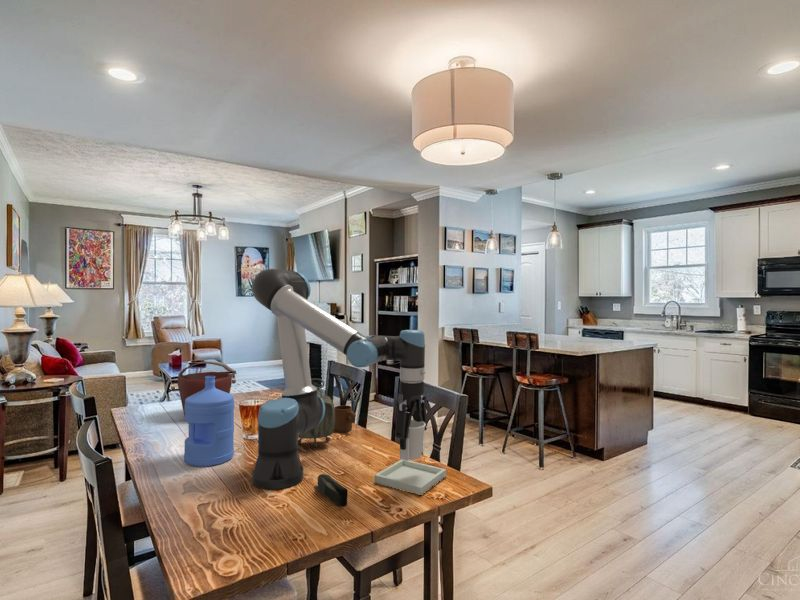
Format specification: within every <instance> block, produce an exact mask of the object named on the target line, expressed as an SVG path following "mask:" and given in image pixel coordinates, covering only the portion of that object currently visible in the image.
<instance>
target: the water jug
mask: <svg viewBox="0 0 800 600" xmlns="http://www.w3.org/2000/svg"><path fill="white" fill-rule="evenodd" d="M205 379H206V381H205V388H204V389H203V390H201V391H199V392H197V393H195V394H193V395H191V396H189V397H188V398H186V400H185V406H184V412H185V416H184V421H185V422H187V424H188V437H186V438H185V439H184V452H183V453H184V454H183V461H184V463H185V464H186V465H189V466H192V467H210V466H211V467H212V466H217V465H220V464H224V463H226V462H228V461H230V460H231V459H232V458H233V457H234V454H235V448H234V442H235V441H234V440H235V439H234V438H235V437H234V436H235V435H234V434H235V423H234V421H235V419H234V417H235V416H234V415H235V397H234V395H233V394H231V393H230V394H229V393H227V392H224V391H221V390H219V389H216V388H215V376H206V377H205ZM184 412H183V413H184Z"/></svg>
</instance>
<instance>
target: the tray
mask: <svg viewBox="0 0 800 600" xmlns="http://www.w3.org/2000/svg"><path fill="white" fill-rule="evenodd" d="M445 477H446V478H447V469H446V468H443V467H437V466H434V465H430V464H426V463H421V462H417V461H413V460H410V459H409V460H408V461H406V460H401V459H399V460H398V461H396V462H395V463H393V464H391V465H389V466H388V467H385V468H384V469H382V470H381V471H379V472H377V473H375V474H374V484H376V483H377V485H380V484H381V485H380V486H383V485H385V486H384V487H387V486H389V487H388V488H390V487H393V488H392V489H394V488H396V489H395V490H397V489H401V490H404V491H408V492H412V493H416V494H420V495H422V494H423V493H424V492H426V491H427V490H428V489H430V488H431V487H432V486H434V485H435V484H436V483H437V482H439V481H440V480H442V479H443V478H444V479H446V478H445ZM444 479H443V480H444ZM443 480H442V481H443ZM440 482H441V481H440ZM440 482H439V483H440ZM436 485H437V484H436ZM436 485H435V486H436ZM435 486H434V487H435ZM431 489H432V488H431ZM431 489H430V490H431ZM401 490H400V491H401ZM404 491H403V492H404ZM408 492H407V493H408ZM427 492H428V491H427ZM427 492H426V493H427ZM423 495H424V494H423ZM423 495H422V496H423Z"/></svg>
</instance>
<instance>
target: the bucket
mask: <svg viewBox="0 0 800 600" xmlns="http://www.w3.org/2000/svg"><path fill="white" fill-rule="evenodd" d="M201 364H206V365H207V364H208V365H215V366H219V367H222V368H223V369H224V370H226V371H228V372H224V371H223V372H222V371H221V372H219V371H204V372H196V373H194V372H193V373H192V372H191V373H186V374H185V375H184V373H185V372H186V371H187V370H188V369H190V368H192V367H194V366H197V365H201ZM231 372H232V373H231ZM235 375H236V372H235V370H234V369H233V368H232V367H229V366H228V365H227V364H225V363H221V362H216V361H200V362H196V363H193V364H190V365H188V366H186V367H185V368H182V370H180V372H179V373H178V376H177V388H178V392H179V396H180V401H181V407H182V411H183V415H184V417H185V412H184V406H185V400H186V398H188V397H189V396H191V395H193V394H195V393H197V392H199V391H201V390H203V389H204V388H205V381H206V379H205V377H206V376H215V388H216V389H219V390H221V391H224V392H227V393H229V394H231V387H232V383H233V382H232V381H233V380H232V379H233V378H234V376H235Z"/></svg>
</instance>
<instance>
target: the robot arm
mask: <svg viewBox="0 0 800 600" xmlns="http://www.w3.org/2000/svg"><path fill="white" fill-rule="evenodd" d="M251 291H252V295H253V297H254V299H255V300H256V301H257V302H258V303H259V304H260V305H262V307H263V306H264V307H265V308H266V309H268V310H269V311H271V313H272V314H273V315H274V316H275V317H276V319H277V328H278V337H279V344H280V345H279V347H280V353H281V362H282V370H283V379H284V386H285V389H284V390H283V391H282V393H281V397H279V398H276V399H275V398H274V399H270V400H268V401H267V400H266V402H263V403H262V404H261V405H260V408H259V409H258V417H257V424H258V428H257V429H258V432H257V433H258V435H257V436H258V439H257V441H258V442H257V443H258V445H257V447H258V448H257V449H258V450H257V458H256V461H255V465H254V469H252V472H251V483H252V485H253V486H254V487H256V488H259V489H265V490H279V489H280V490H282V489H286V488H290V487H294V486H296V485H298V484H299V483H300V482H302V481H303V479H304V468H303V465H302V462H301V461H302V460H301V458H300V455H299V444H298V440H299V437H298V436H300V435H302V434H304V433H305V432H307V431H310V430H312V429H314V428H315V427H316V426H317V425H318V424H320V423H321V421H322V420H323V418H324V415H325V404H324V401H323V399H322V398H320V396H319V395H318V394H317V390H318V389H317V388H318V387H317V386H316V387H314V386H315V385H313V384H312V381H311V379H312V376H311V368H310V360H309V353H308V345H307V344H308V343H307V336H306V331H308V332H310V333H311V334H313V335H314V336H315V337H317V338H319V339H320V340H322V341H323V342H325V343H327V344H328V345H330V346H331V347H333V348H334V349H336V350H337V351H338V352H341V354H343V355H345V356H346V357H347V359H348V362H349V363H350V364H351V365H352V366H353V367H354V368H367V367H371V366H372V365H374V364H377V363H379V362H382V361H396V362H397V361H398V362H399V368H400V369H399V380H400V382H399V393H400V394H401V395H402V397H403V399H402V402H401V403H400V402H397V404H396V408H397V409H396V410H397V412H396V413H397V414H396V423H395V424H396V425H395V434H394V435H395V436H394V437H395V438H398V439H399V460H406V461H408V460H409V461H410V459H409V438H407V437H408V432H409V427H410V422H411V420H412V418H413V420H415V421H417V422H421V421H423V422H424V423H425V424H426V426H425V430H424V432H425V431H427V429H428V428H427V427H428V415H427V396H426V395H424V394H425V389H426V388H425V387H426V386H425V382H424V380H425V374H426V371H425V362H426V361H425V357H426V356H425V355H426V354H425V353H426V344H425V343H426V341H425V339H426V338H425V333H424V331H422V330H421V329H405V330H404V329H403V330H401V331H400V332H399V335H395V336H393V335H378V334H372V335H363V334H362V333H360V332H359V331H358V330H356V329H354V328H353V327H352V326H350V325H348V324H346V323H345V322H343V321H342V320H341V319H338V318H336V317H335V316H333V315H332V314H331V313H328V312H327V311H326V310H324V309H323V308H321V307H319V306H318V305H316V304H314V303H313V302H312V301H310V300H308V299H309V298H310V296H311V284H310V281H309V279H307V277H306V276H305V275H304V274H302V273H300V272H298V271H295V270H291V269H290V270H289V269H288V270H287V269H278V268H276V269H275V268H266V269H264V270H261V271H260V272H258V273H257V274H256V275H255V277H254V279H253V281H252V285H251ZM422 453H424V445H423V446H422Z"/></svg>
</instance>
